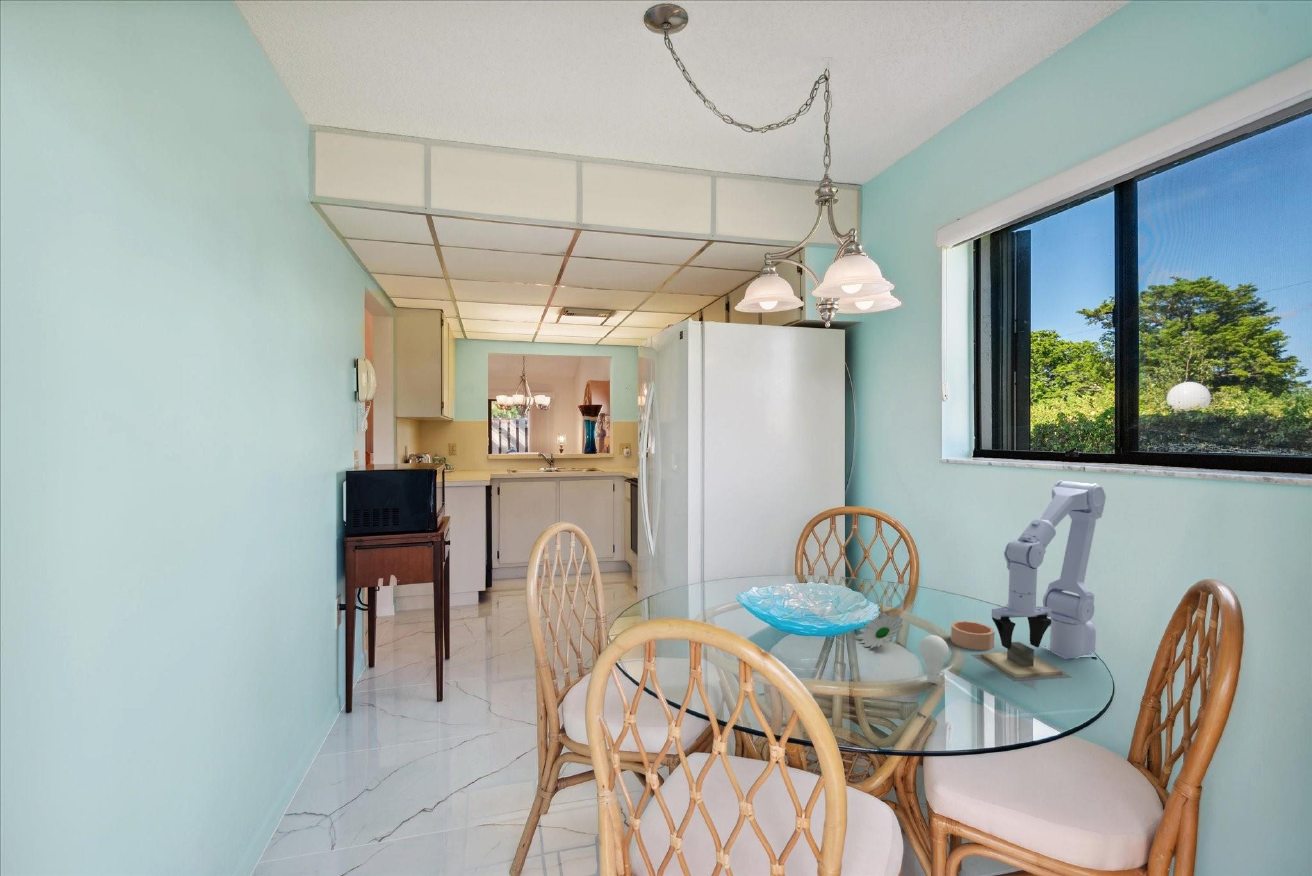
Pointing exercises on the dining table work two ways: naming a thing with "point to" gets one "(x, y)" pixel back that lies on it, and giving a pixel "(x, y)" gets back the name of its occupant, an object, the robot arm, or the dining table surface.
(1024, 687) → the dining table surface
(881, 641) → the flower
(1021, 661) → the lid
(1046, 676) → the mat
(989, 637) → the bowl
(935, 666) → the lightbulb
